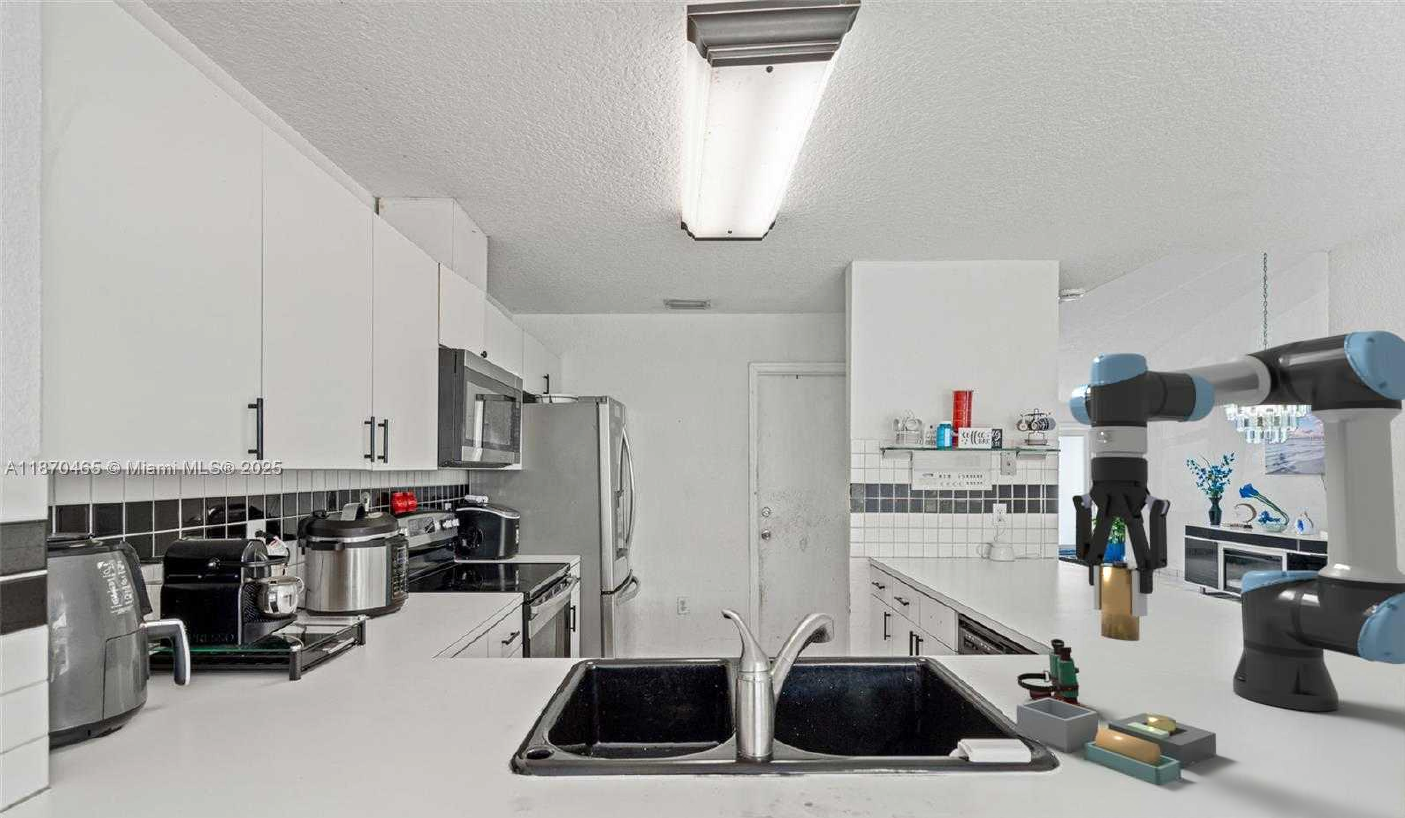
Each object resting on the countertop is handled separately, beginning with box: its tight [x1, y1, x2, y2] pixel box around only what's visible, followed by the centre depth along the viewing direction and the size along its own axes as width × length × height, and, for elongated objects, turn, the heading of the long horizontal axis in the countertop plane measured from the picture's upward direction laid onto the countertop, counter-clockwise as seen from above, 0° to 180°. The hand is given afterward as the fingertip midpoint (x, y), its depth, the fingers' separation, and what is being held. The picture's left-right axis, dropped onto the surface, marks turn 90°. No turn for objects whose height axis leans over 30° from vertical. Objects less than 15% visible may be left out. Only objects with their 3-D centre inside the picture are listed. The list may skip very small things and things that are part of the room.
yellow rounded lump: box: [1147, 713, 1177, 737], centre depth 109 cm, size 4×4×2 cm
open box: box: [1016, 698, 1099, 754], centre depth 112 cm, size 8×8×4 cm
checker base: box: [1107, 712, 1217, 769], centre depth 109 cm, size 10×10×4 cm
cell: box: [1100, 560, 1141, 642], centre depth 112 cm, size 5×5×11 cm
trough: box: [1083, 727, 1182, 786], centre depth 102 cm, size 6×10×4 cm, turn 32°
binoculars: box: [1016, 638, 1081, 707], centre depth 130 cm, size 9×11×10 cm
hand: (1120, 611), depth 112 cm, fingers closed on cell, 5 cm apart
